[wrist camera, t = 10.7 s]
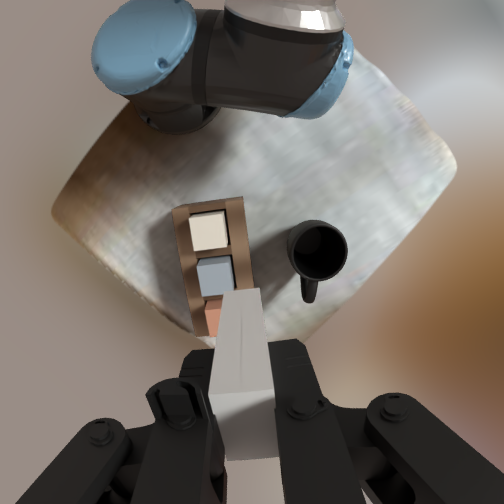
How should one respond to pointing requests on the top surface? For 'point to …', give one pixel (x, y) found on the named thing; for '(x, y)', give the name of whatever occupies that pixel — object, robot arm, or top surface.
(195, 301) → the brown wooden block
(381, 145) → the top surface
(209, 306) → the terracotta key
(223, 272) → the slate key
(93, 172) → the top surface
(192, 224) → the ivory key
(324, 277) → the mug
